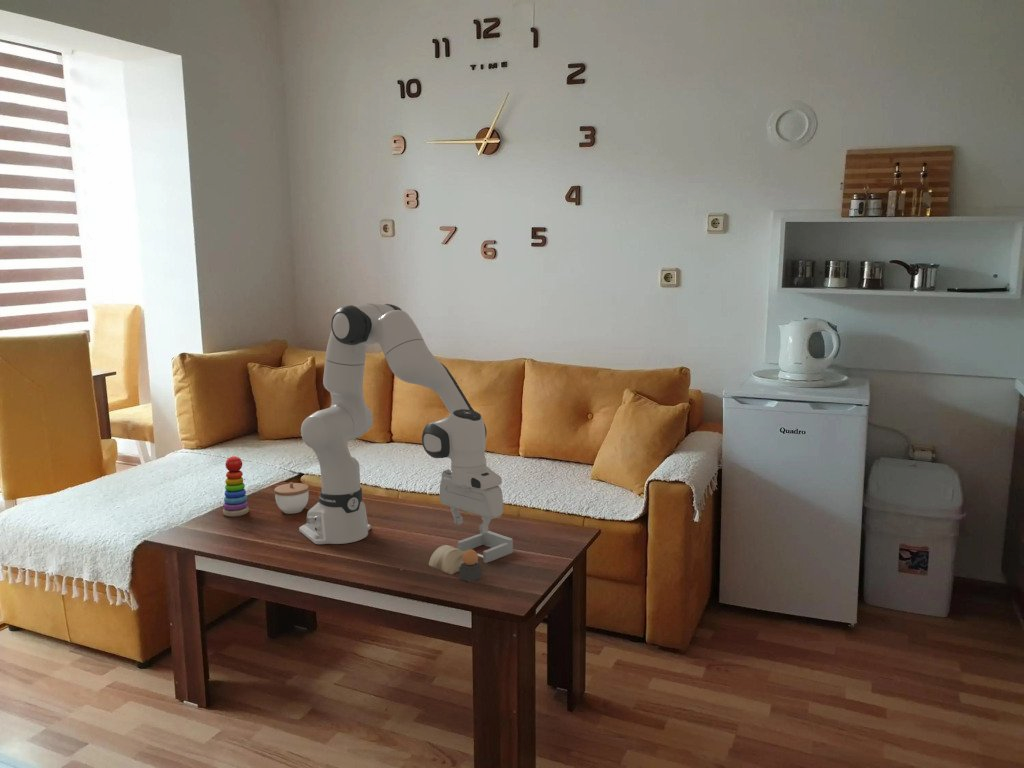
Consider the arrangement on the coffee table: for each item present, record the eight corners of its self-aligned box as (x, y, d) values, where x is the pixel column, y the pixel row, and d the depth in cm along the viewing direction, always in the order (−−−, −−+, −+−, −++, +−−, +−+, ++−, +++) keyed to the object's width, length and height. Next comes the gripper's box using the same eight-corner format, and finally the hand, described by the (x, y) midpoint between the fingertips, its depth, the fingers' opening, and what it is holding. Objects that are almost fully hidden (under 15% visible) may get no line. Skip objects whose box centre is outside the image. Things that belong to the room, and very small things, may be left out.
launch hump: (428, 586, 212) (427, 550, 211) (456, 575, 219) (456, 540, 218) (451, 596, 206) (450, 559, 204) (479, 584, 213) (478, 549, 211)
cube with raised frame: (459, 578, 203) (459, 564, 202) (471, 573, 205) (470, 559, 205) (470, 582, 200) (469, 568, 199) (481, 577, 203) (481, 563, 202)
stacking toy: (244, 517, 251) (240, 460, 248) (219, 517, 251) (215, 460, 248) (252, 509, 259) (248, 453, 256) (228, 509, 259) (224, 453, 256)
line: (465, 551, 221) (465, 550, 221) (468, 550, 221) (468, 549, 221) (488, 559, 215) (488, 559, 215) (490, 558, 215) (490, 558, 215)
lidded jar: (281, 505, 263) (279, 478, 261) (313, 505, 263) (312, 477, 261) (271, 516, 252) (269, 487, 251) (305, 516, 252) (303, 487, 250)
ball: (459, 565, 202) (459, 550, 201) (470, 560, 205) (470, 545, 204) (469, 569, 199) (469, 554, 199) (481, 564, 202) (481, 549, 201)
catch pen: (457, 552, 220) (457, 538, 220) (484, 542, 227) (483, 528, 227) (486, 563, 212) (486, 548, 212) (512, 552, 219) (512, 538, 219)
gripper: (432, 470, 203) (434, 522, 205) (488, 484, 189) (489, 540, 191) (451, 465, 208) (453, 516, 210) (506, 479, 193) (508, 533, 196)
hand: (471, 527), depth 200 cm, fingers open, 8 cm apart
